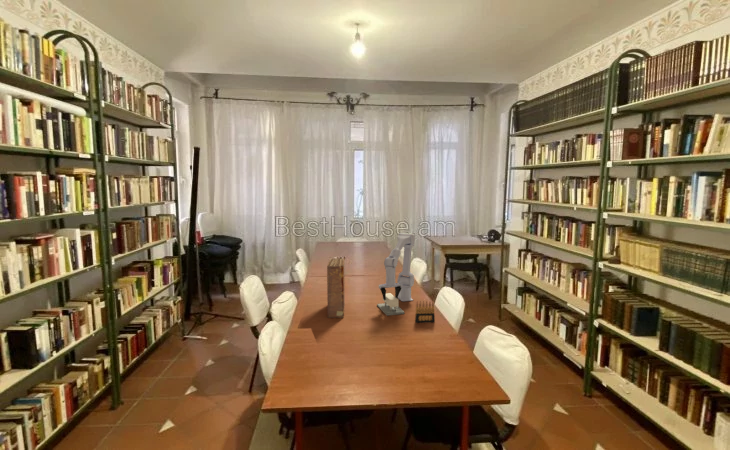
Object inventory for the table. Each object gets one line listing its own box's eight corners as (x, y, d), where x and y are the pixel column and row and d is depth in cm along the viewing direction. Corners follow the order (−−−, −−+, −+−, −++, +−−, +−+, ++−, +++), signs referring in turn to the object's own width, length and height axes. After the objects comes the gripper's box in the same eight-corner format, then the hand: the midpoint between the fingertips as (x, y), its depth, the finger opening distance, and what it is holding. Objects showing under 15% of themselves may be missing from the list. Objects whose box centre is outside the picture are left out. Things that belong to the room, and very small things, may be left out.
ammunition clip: (415, 322, 209) (415, 301, 208) (414, 321, 211) (415, 300, 210) (434, 322, 210) (435, 301, 209) (433, 321, 212) (434, 300, 210)
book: (330, 303, 241) (329, 257, 238) (344, 303, 242) (344, 257, 238) (327, 318, 216) (327, 266, 213) (343, 317, 216) (343, 266, 213)
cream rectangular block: (382, 299, 236) (382, 293, 235) (390, 299, 237) (390, 293, 236) (390, 307, 222) (390, 300, 222) (398, 306, 224) (398, 299, 223)
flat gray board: (377, 305, 237) (377, 299, 237) (393, 304, 240) (393, 297, 240) (386, 315, 220) (386, 308, 220) (404, 313, 223) (404, 306, 223)
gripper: (381, 279, 222) (381, 302, 224) (404, 277, 226) (404, 300, 228) (377, 276, 229) (377, 298, 230) (400, 275, 233) (399, 296, 234)
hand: (390, 299), depth 229 cm, fingers open, 7 cm apart
